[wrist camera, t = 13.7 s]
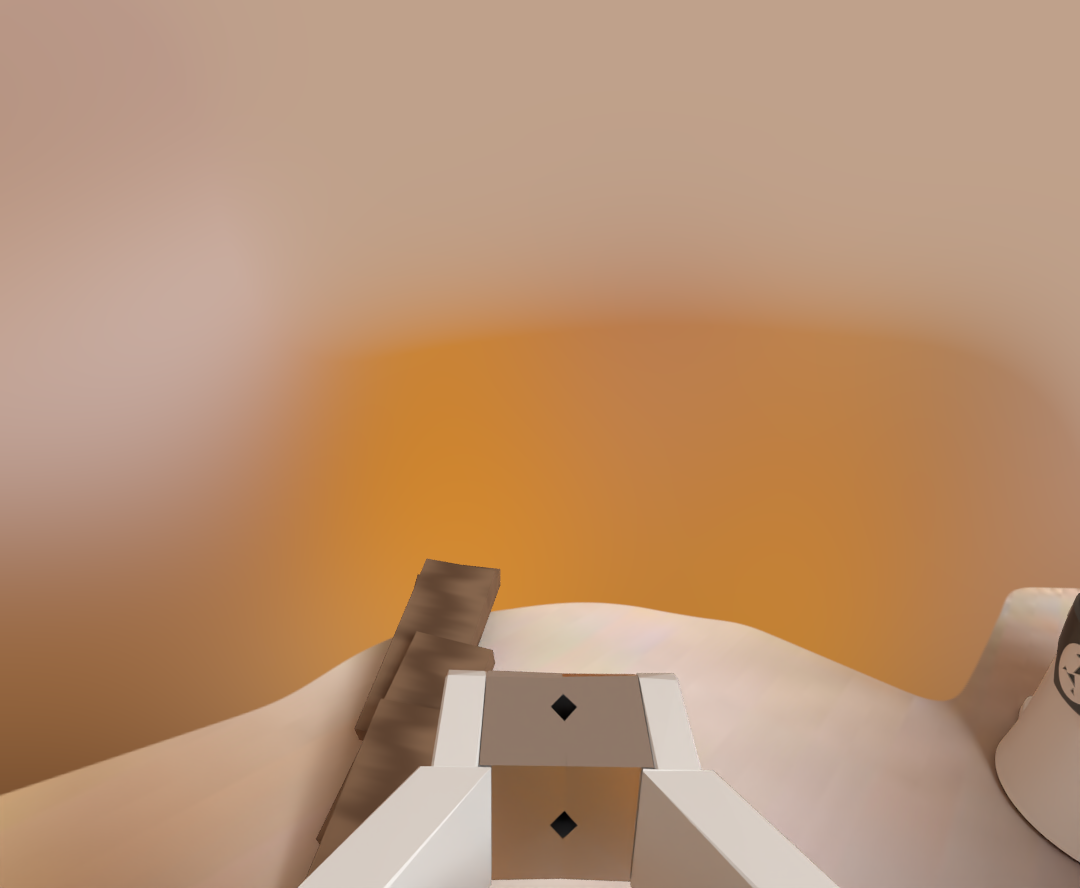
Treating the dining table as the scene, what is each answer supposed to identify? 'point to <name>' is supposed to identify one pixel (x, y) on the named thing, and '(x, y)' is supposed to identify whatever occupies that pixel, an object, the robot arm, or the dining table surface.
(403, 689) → the domino
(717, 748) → the dining table surface
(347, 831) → the domino
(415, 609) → the domino
